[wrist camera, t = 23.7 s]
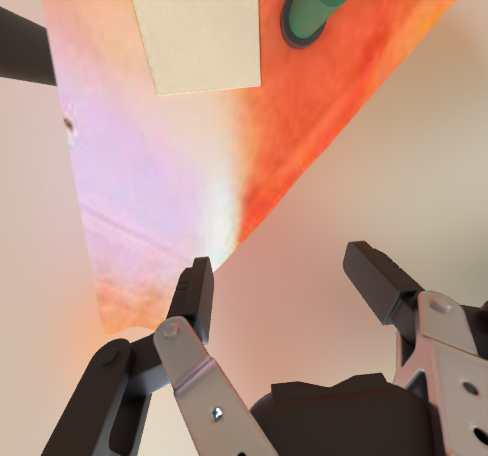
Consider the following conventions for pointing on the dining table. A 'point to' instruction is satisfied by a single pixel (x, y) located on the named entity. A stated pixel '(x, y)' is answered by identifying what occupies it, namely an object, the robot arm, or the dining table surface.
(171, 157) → the dining table surface
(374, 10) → the dining table surface
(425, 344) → the robot arm
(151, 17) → the napkin
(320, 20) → the green cylinder with base
